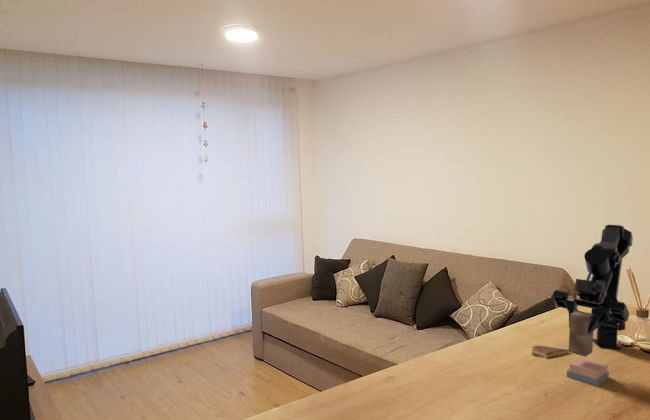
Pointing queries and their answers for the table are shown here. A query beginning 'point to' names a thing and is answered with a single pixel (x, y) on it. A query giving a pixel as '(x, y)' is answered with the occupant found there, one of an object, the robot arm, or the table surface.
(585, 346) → the walnut pillar
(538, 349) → the shard
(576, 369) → the terracotta top slab
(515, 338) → the table surface
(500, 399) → the table surface
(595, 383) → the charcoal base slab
